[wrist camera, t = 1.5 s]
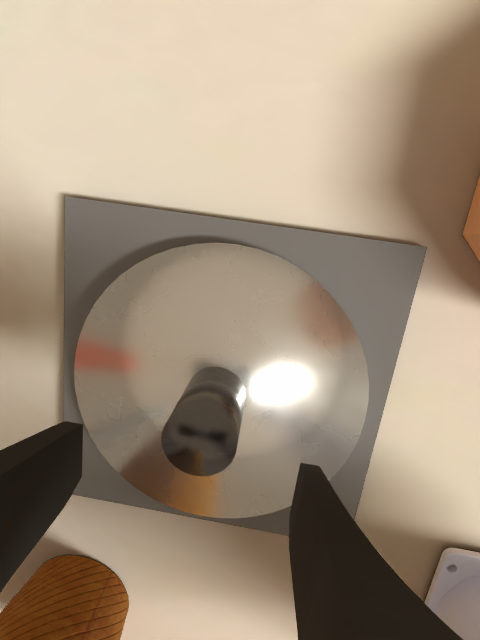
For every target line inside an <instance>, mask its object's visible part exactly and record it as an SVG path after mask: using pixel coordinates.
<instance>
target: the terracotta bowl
mask: <svg viewBox="0 0 480 640" xmlns="http://www.w3.org/2000/svg"><path fill="white" fill-rule="evenodd" d="M462 235H463V236H464V238H465V239H466V241H467V243H468V244H469V246H470V247H471V249H472V251H473V252H474V254H475V255H476V257H477V258H478V260H479V262H480V176H479V179H478V183H477V186H476V190H475V193H474V196H473V200H472V203H471V207H470V210H469V214H468V217H467V221H466V224H465V227H464V231H463V234H462Z"/></svg>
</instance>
